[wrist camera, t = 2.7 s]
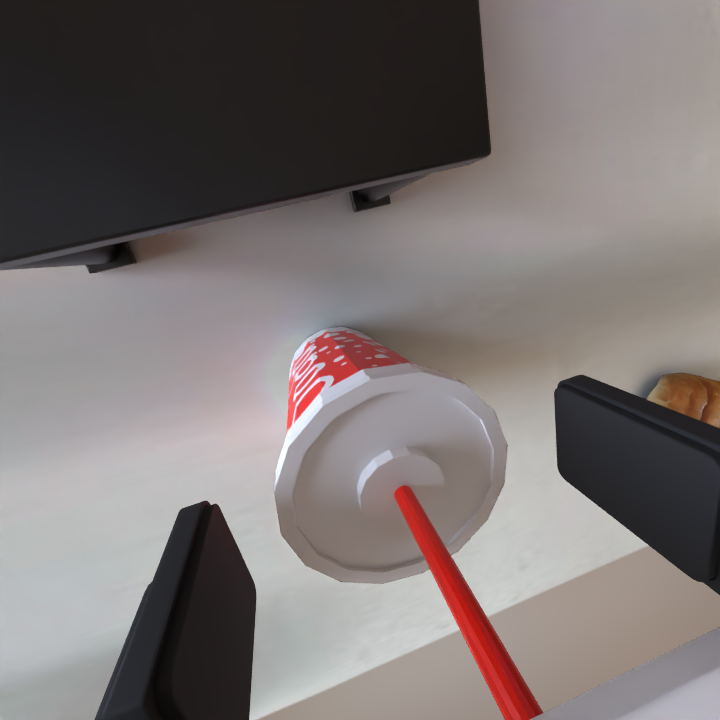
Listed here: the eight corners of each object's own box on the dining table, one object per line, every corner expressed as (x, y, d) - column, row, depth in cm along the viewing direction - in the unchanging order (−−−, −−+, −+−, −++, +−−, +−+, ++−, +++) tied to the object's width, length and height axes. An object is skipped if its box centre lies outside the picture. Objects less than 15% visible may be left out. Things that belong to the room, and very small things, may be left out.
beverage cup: (348, 283, 16) (693, 421, 3) (418, 376, 18) (788, 691, 5) (244, 367, 16) (118, 892, 3) (328, 450, 18) (469, 953, 5)
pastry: (606, 431, 23) (669, 464, 19) (670, 342, 22) (749, 359, 18) (679, 478, 26) (744, 513, 22) (737, 402, 25) (815, 427, 21)
